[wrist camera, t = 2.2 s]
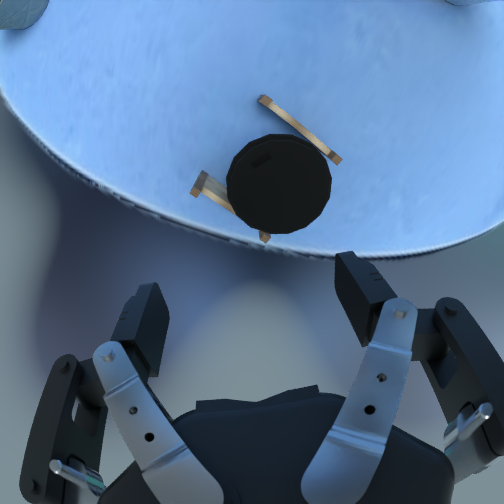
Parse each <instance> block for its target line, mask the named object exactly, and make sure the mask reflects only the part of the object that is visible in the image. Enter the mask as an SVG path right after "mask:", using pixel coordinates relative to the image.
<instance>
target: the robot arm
mask: <svg viewBox="0 0 504 504" xmlns="http://www.w3.org/2000/svg"><path fill="white" fill-rule="evenodd" d="M446 1H448V2H449V3H451V4H453V5H457V6H459V5H466V4H473V3H481V2H490V1H503V0H446ZM334 281H335V290H336V294H337V296H338V298H339V300H340V302H341V304H342V306H343V308H344V310H345V312H346V314H347V316H348V318H349V320H350V322H351V325H352V327H353V329H354V331H355V333H356V335H357V337H358V339H359V341H360V343H361V346H362V347H365V346H368V347H367V350H366V353H365V355H364V358H363V361H362V363H361V365H360V368H359V370H358V373H357V375H356V377H355V380H354V382H353V385H352V387H351V389H350V391H349V394H348V396H347V398H346V397H344V396H340V395H337V394H332V393H319V389H318V386H317V385H313V386H308V387H304V388H298V389H293V390H287V391H285V392H282V393H280V394H277V395H275V396H272V397H269V398H267V399H264V400H261V401H258V402H249V401H239V400H231V399H216V400H203V401H196V409H195V410H192V411H189V412H186V413H185V414H183V415H181V416H179V417H178V418H176V419H175V420H173V419H172V417H171V416H170V415H169V413H168V412H167V411H166V409H165V408H164V406H163V405H162V404H161V402H160V401H159V399H158V398H157V396H156V395H155V394H154V392H153V390H152V389H151V387H150V386H149V385H148V383H147V382H148V378H149V377H158V374H159V368H160V364H161V358H162V353H163V348H164V344H165V339H166V334H167V330H168V325H169V320H170V317H169V311H168V307H167V305H166V302H165V300H164V298H163V295H162V293H161V290H160V288H159V286H158V284H157V283H155V282H154V283H147V284H141V285H140V286H139V288H138V290H137V293H136V295H135V296H132V297H131V298H130V299H129V300H128V301H127V302H126V304H125V305H124V308H123V310H122V314H121V315H120V317H119V320H118V322H117V325H116V327H115V330H114V332H113V335H112V337H111V340H110V342H106V343H104V344H102V345H101V346H99V347H98V348H97V349H96V351H95V353H94V355H93V358H91V359H88V360H84V361H81V362H79V361H78V360H77V359H76V357H75V356H73V355H71V354H67V355H64V356H61V357H60V358H58V359H57V360H56V362H55V363H54V365H53V367H52V369H51V372H50V374H49V377H48V379H47V382H46V385H45V388H44V390H43V393H42V396H41V399H40V402H39V405H38V408H37V411H36V414H35V417H34V421H33V424H32V428H31V431H30V435H29V438H28V442H27V447H26V451H25V455H24V460H23V465H22V470H21V475H20V482H19V487H20V491H21V493H22V495H23V497H24V498H25V499H26V500H27V501H28V502H30V503H32V504H451V498H452V493H453V489H454V484H456V483H458V482H460V481H461V480H463V479H465V478H467V477H468V476H470V475H472V474H477V473H479V472H481V471H483V470H484V469H486V468H488V467H489V466H491V465H493V464H494V463H496V462H497V461H499V460H501V459H502V458H503V457H504V362H503V361H502V359H501V357H500V356H499V354H498V353H497V351H496V350H495V348H494V347H493V345H492V344H491V342H490V341H489V339H488V338H487V336H486V335H485V334H484V332H483V330H482V329H481V328H480V326H479V325H478V324H477V322H476V321H475V319H474V318H473V317H472V315H471V314H470V313H469V311H468V310H467V309H466V307H465V306H464V305H463V304H462V303H461V302H460V301H459V300H457V299H454V298H450V297H445V298H441V299H440V300H438V301H437V303H436V306H435V308H434V309H417V308H416V306H415V305H414V304H413V303H412V302H411V301H409V300H407V299H403V298H398V297H397V295H396V294H395V293H394V291H393V290H392V288H391V287H390V286H389V284H388V283H387V282H386V280H385V279H383V277H382V275H381V274H380V273H379V271H378V270H377V269H376V267H375V266H374V265H373V264H371V263H369V262H368V261H366V260H359V259H358V257H357V256H356V255H355V253H354V252H353V251H348V252H342V253H337V254H336V255H335V280H334ZM450 349H451V350H450ZM411 361H420V362H421V364H422V366H423V368H424V370H425V373H426V375H427V377H428V379H429V381H430V383H431V385H432V387H433V390H434V392H435V394H436V396H437V399H438V401H439V403H440V406H441V408H442V410H443V413H444V415H445V418H446V420H447V423H448V426H447V427H446V429H445V432H444V447H445V450H444V453H443V452H442V451H440V450H439V449H437V448H435V447H433V446H431V445H429V444H427V443H425V442H423V441H421V440H420V439H418V438H416V437H414V436H412V435H410V434H408V433H407V432H405V431H403V430H401V429H400V428H398V427H396V426H394V425H393V422H394V419H395V416H396V413H397V409H398V406H399V403H400V400H401V397H402V393H403V390H404V386H405V382H406V378H407V374H408V370H409V366H410V362H411ZM75 400H77V401H78V403H79V404H78V408H77V412H76V416H75V420H74V422H73V420H72V409H73V406H74V402H75ZM108 409H109V411H110V413H111V416H112V418H113V420H114V422H115V424H116V426H117V428H118V430H119V432H120V433H121V435H122V437H123V439H124V441H125V443H126V445H127V446H128V448H129V450H130V452H131V453H132V455H133V457H134V459H135V461H134V462H133V463H132V464H131V465H130V466H129V467H128V468H127V469H126V470H125V471H124V472H123V473H122V474H121V475H120V476H119V477H118V478H117V479H116V480H115V481H114V482H112V484H111V485H109V486H108V487H107V488H106V486H105V485H104V483H103V479H102V477H101V475H100V474H99V465H100V457H101V450H102V443H103V436H104V430H105V424H106V419H107V413H108Z"/></svg>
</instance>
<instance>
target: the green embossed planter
mask: <svg viewBox="0 0 504 504" xmlns="http://www.w3.org/2000/svg"><path fill="white" fill-rule="evenodd" d="M48 2H49V0H0V30H1V29H2V30H4V29H24V28H27V27H29V26H31V25H32V24H34V23H35V22H36V21H37V20H38V19H39V18H40V16H41V15H42V14H43V12H44V11H45V9H46V7H47V5H48Z"/></svg>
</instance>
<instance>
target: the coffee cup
mask: <svg viewBox="0 0 504 504" xmlns="http://www.w3.org/2000/svg"><path fill="white" fill-rule="evenodd" d="M331 182H332V177H331V174H330V171H329V168H328V165H327V161H326V159H325V158H324V157H323V156H322V155H321V154H320V152H319V151H318V150H317V149H316V148H315V147H314V146H313V145H312V144H311V143H309V142H307V141H305V140H303V139H301V138H298V137H296V136H294V135H291V134H269V135H266V136H263V137H261V138H258V139H256V140H253V141H251V142H249V143H248V144H247V145H246V146H245V147H244V148H243V149H242V150H241V151H240V152H239V153H238V154H237V155H236V156H235V157H234V159H233V161H232V164H231V166H230V169H229V171H228V174H227V176H226V183H227V198H228V200H229V202H230V204H231V206H232V208H233V210H234V212H235V214H236V215H237V216H238V217H239V218H240V219H241V220H243V221H244V222H245V223H246V224H247V225H248V226H250V227H251V228H254V229H257V230H260V231H263V232H266V233H269V234H289V233H292V232H294V231H297V230H300V229H302V228H305V227H307V226H308V225H309V224H310V223H311V222H313V221H314V220H315V219H316V218H317V217H318V216H320V214H321V213H322V211H323V209H324V207H325V205H326V204H327V202H328V200H329V198H330V192H331Z"/></svg>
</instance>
